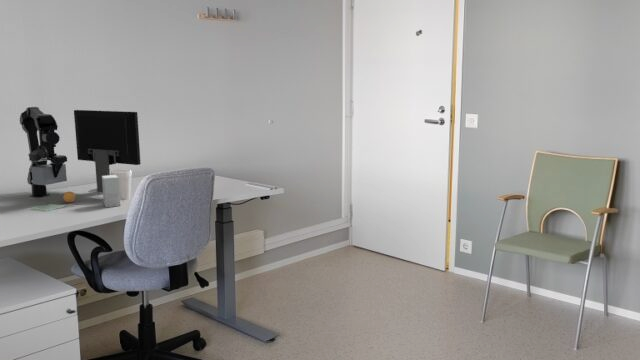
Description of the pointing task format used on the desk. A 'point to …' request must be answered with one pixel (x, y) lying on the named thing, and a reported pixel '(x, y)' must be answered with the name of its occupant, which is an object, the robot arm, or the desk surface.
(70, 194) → the ball
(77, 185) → the desk surface
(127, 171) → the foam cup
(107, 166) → the computer monitor
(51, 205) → the tape square
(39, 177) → the large grey box
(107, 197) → the small box
